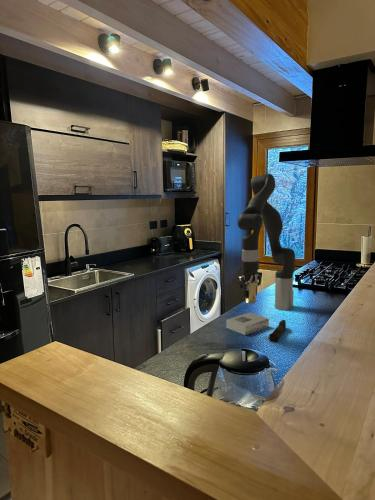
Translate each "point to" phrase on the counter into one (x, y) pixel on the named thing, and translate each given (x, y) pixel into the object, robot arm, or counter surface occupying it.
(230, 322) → the block
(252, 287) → the bushing
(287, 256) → the robot arm
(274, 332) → the hand tool
